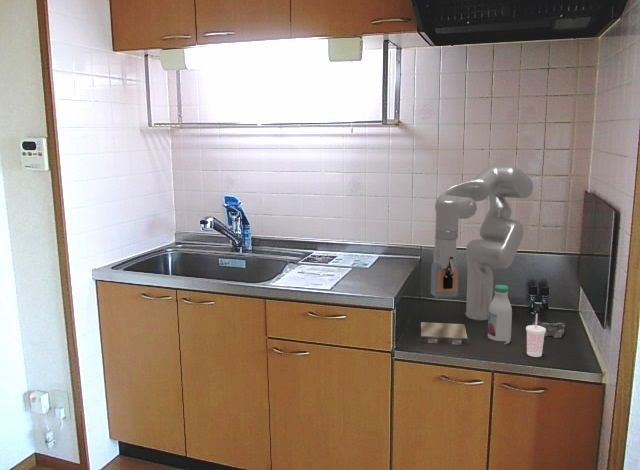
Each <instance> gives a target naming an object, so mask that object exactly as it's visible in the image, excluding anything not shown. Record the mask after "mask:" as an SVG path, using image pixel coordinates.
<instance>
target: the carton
mask: <svg viewBox="0 0 640 470" xmlns="http://www.w3.org/2000/svg"><path fill="white" fill-rule="evenodd" d="M447 268H450V267H447ZM448 271H449V270H447V273H448ZM459 271H460V265H459V264H457V263H456V268H455V272H454V274H453V288H452V289H444V288H443V277H445V275H444V269H441V268H440V266H439V265H437V264H436V263H434V262H432V263H431V274H430V295H432V296H433V297H434V298H435V299H437V298H456V297H459V277H460V276H459V274H460V273H459Z"/></svg>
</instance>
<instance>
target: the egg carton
mask: <svg viewBox="0 0 640 470" xmlns="http://www.w3.org/2000/svg"><path fill="white" fill-rule="evenodd" d="M535 322H536V321H533V323H532V324H531V325H535ZM537 326H542V327H544V328H545V329H546V332H545V334H544V337H549V336H550V337H553V338H555V339H561V338H562V337H563V336H564V335H565V326H566V323H565V322H556V323H553V322H552V323H551V322H550V323H548V322H540V321H537Z"/></svg>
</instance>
